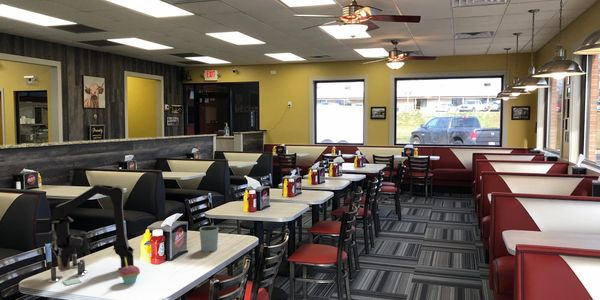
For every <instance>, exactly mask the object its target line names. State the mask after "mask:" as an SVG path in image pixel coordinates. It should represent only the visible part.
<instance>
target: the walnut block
mask: <svg viewBox="0 0 600 300" xmlns="http://www.w3.org/2000/svg"><path fill="white" fill-rule="evenodd" d="M57 257H58V258H57ZM57 257H56V258H57V269H58V270H59V271H66V270H70V269H71V268H70V266H71V260H70V257H69V259H68V263H67V267H64V266H63V264H62V262H61V260H60V258H59V256H57Z"/></svg>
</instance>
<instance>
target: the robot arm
mask: <svg viewBox="0 0 600 300" xmlns="http://www.w3.org/2000/svg"><path fill="white" fill-rule="evenodd" d="M96 195H102V196H105V197H110V201H111V204H112V206H113V211H114V212H113V213H114V224H115V234H116V236H115V237H114V238H113V240H112V245H113V248H112V250H113V251H114V253H115V254H116V255H118V256H119V259H120V267H118V270H119V271H120V270H121V269H122V268H124V267H125V266H126V264H125V258H126V260H127V265H128V266H132V265H134V261H135V260H134V255H133V254H134V251H135V249H134V248H133V247H132V246H130V244H129V241H128V240H129V239H128V237H127V235H126V228H125V217H124V208H123V205H124V197H125V196H124V195H125V190H124V187H122V186H120V185H115V186H113V185H106V184H105V185H103V184H99V183H96V184H95V185H93V186H92V187H91V188H90V189H88V190H86V191H84V192H83V193H80V194H79V195H78V196H75V197H74V198H72V199H70V200H68V201H66V202H65V201H64V202H62V203H60V204H58V205H56V206H55V207H54V208H53V209H52V214H51V216H50V217H49V218H37V219H36V220H35V227H34V232H35V235H46V234H48V235H49V234H52V232H53V231H54V234H53V238H54V241H51V242H50V245H49V246H50V249H51V250H52V252H53V253H54V255H55V256H56V258H57V259H58V257H57V256H59V258H60V260H61V262H62V264H63V266H64V267H67V263H68V259H69V258H70V256H72V255H73V254H77V250H76V249H77V248H75V245H76V246H78V247H79V246H80V247H81V246H82V245H83V241H84V238H82V237H80V236H79V235H78V234H76V233H72V234H70V231H69V230H70V229H69V227H70V224H69V223H72V222H74V219H73V218H71V217H70V216H67V215H69V214H70V212H71V211H74V209H76V207H78V206H79V205H81V204H83V203H85V202H86V201H88V200H90V199H91V198H93V197H94V196H96ZM66 216H67V217H66ZM65 217H66V218H65ZM58 219H59V220H58ZM73 245H74V246H73ZM134 266H135V265H134Z"/></svg>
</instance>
